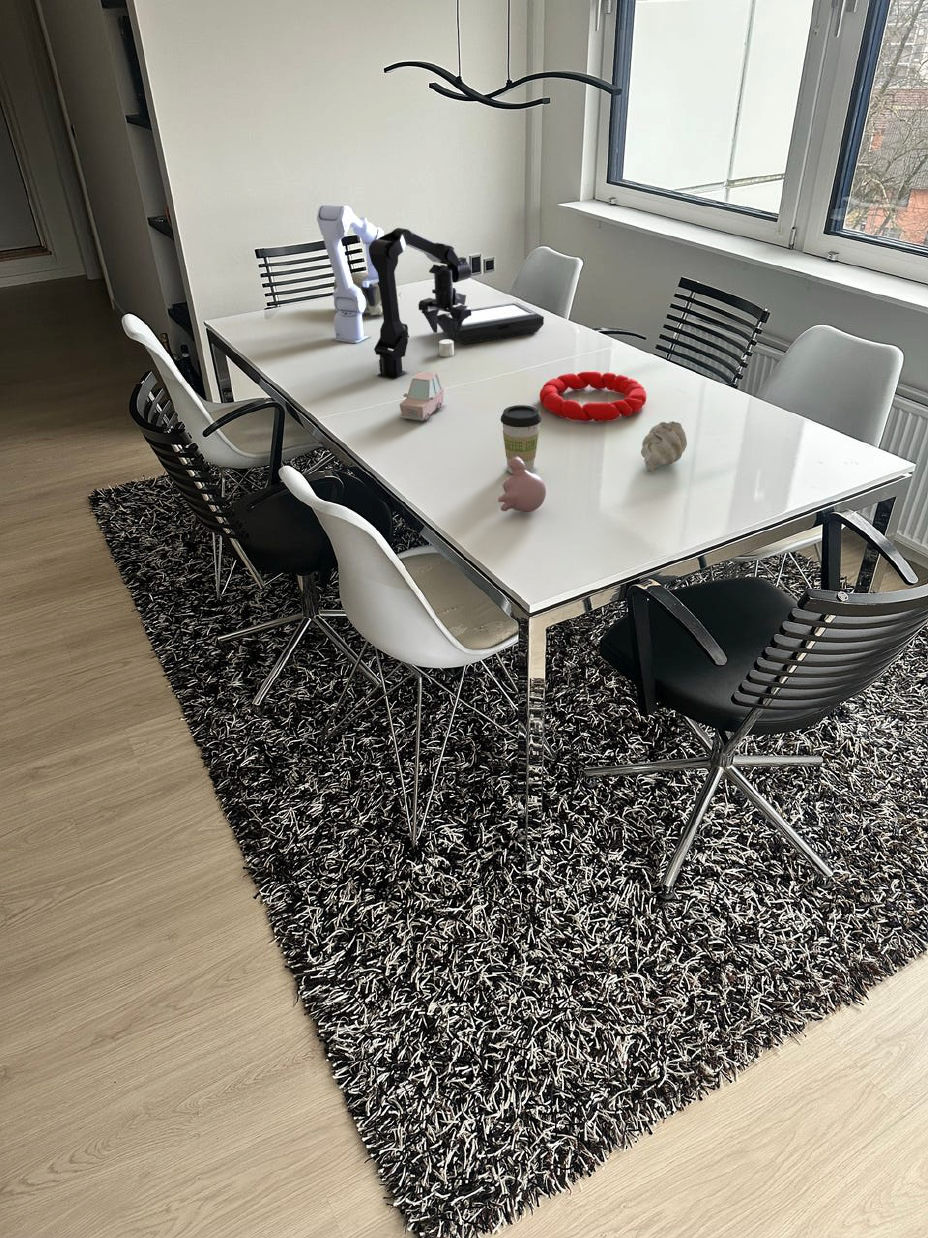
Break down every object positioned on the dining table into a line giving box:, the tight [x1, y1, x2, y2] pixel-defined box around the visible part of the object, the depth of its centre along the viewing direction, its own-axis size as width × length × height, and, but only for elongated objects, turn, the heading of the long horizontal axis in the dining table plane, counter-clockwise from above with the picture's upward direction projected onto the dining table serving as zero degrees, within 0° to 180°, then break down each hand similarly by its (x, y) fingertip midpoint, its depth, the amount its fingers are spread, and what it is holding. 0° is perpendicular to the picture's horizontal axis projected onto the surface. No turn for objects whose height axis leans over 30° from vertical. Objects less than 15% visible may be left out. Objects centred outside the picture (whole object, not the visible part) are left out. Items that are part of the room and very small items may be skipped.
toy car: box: [399, 371, 445, 422], centre depth 250 cm, size 9×15×10 cm, turn 158°
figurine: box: [497, 457, 547, 513], centre depth 199 cm, size 9×11×12 cm
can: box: [438, 339, 455, 358], centre depth 294 cm, size 5×5×4 cm
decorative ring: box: [539, 371, 647, 422], centre depth 253 cm, size 7×30×30 cm
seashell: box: [640, 421, 688, 473], centre depth 218 cm, size 10×15×10 cm
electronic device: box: [437, 302, 545, 345], centre depth 312 cm, size 32×6×20 cm
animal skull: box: [333, 271, 402, 316], centre depth 336 cm, size 17×25×20 cm
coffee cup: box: [499, 404, 543, 474], centre depth 216 cm, size 10×10×15 cm
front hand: (445, 334), depth 292 cm, fingers open, 9 cm apart
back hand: (378, 303), depth 322 cm, fingers open, 7 cm apart
